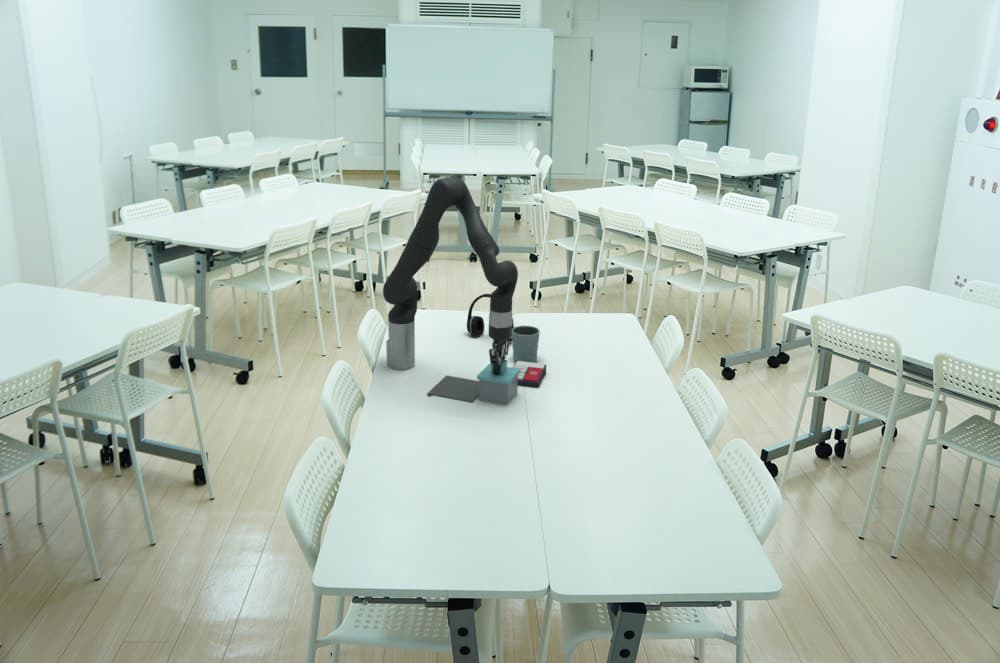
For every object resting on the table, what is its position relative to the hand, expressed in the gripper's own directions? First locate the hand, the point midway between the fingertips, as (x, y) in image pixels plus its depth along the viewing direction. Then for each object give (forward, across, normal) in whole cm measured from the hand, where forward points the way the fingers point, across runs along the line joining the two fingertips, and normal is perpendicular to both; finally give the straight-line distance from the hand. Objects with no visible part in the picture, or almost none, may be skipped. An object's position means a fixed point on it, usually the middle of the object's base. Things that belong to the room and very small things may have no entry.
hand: (498, 371), depth 277 cm
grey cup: (+10, -34, -2) cm, 35 cm away
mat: (+9, 0, -14) cm, 17 cm away
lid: (+3, 0, 0) cm, 3 cm away
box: (+9, 0, 0) cm, 9 cm away
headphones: (+10, -49, -21) cm, 54 cm away
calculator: (+10, -18, +4) cm, 21 cm away
